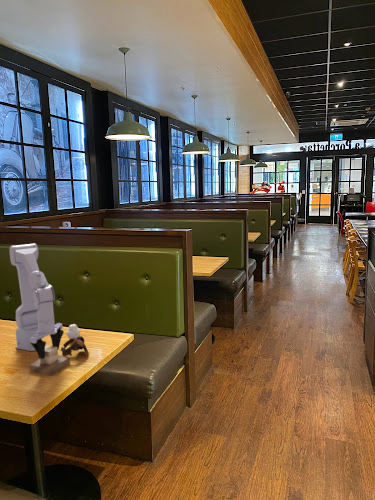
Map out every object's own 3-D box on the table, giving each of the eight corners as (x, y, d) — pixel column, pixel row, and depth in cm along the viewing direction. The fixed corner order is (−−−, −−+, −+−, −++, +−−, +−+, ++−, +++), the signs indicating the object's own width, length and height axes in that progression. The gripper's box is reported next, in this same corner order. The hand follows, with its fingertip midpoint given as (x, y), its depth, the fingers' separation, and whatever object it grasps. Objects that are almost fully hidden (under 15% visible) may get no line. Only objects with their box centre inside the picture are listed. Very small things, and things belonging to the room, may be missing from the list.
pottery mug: (87, 362, 145) (74, 347, 142) (67, 370, 148) (54, 356, 145) (94, 342, 156) (83, 327, 153) (76, 350, 158) (64, 336, 155)
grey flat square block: (30, 372, 138) (29, 364, 138) (49, 360, 147) (48, 353, 147) (51, 377, 134) (50, 369, 134) (70, 364, 144) (69, 357, 143)
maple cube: (40, 362, 139) (39, 350, 138) (48, 357, 143) (47, 345, 142) (50, 364, 138) (49, 352, 137) (58, 359, 142) (57, 346, 141)
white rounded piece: (65, 337, 167) (64, 323, 166) (79, 335, 170) (78, 320, 168) (67, 343, 162) (66, 327, 160) (82, 340, 164) (80, 325, 163)
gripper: (40, 327, 129) (43, 364, 132) (67, 313, 143) (70, 347, 145) (24, 325, 132) (28, 361, 134) (52, 311, 145) (55, 344, 148)
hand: (49, 353), depth 140 cm, fingers open, 7 cm apart
